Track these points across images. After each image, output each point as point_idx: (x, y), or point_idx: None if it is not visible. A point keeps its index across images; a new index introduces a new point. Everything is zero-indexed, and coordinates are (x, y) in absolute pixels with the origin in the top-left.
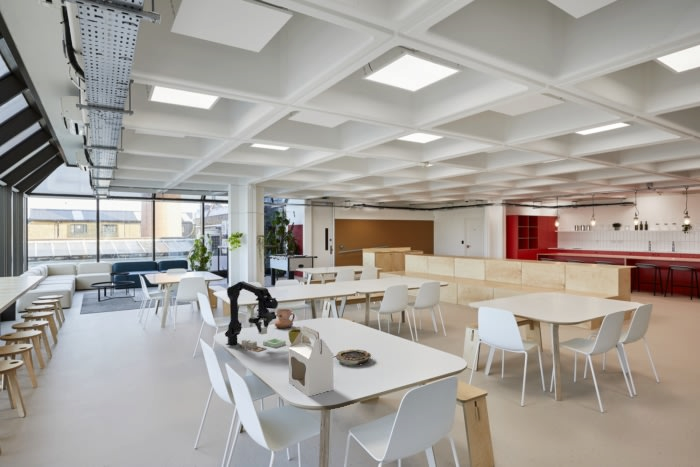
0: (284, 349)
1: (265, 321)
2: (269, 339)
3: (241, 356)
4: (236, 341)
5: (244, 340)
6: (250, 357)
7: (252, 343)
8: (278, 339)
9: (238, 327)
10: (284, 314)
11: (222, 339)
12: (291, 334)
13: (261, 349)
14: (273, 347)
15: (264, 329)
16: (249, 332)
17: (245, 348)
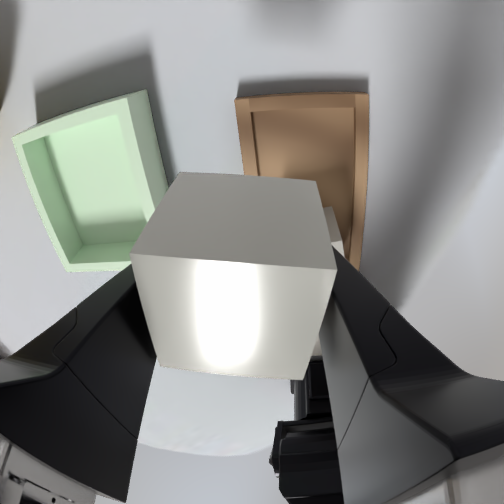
0: (99, 6)
1: (92, 452)
2: (105, 268)
3: (497, 136)
4: (318, 378)
5: (320, 346)
6: (482, 51)
7: (341, 240)
8: (44, 215)
9: (315, 465)
10: None
11: None
12: None
13: (281, 135)
14: (148, 109)
15: (233, 229)
16: (141, 422)
17: (359, 261)
